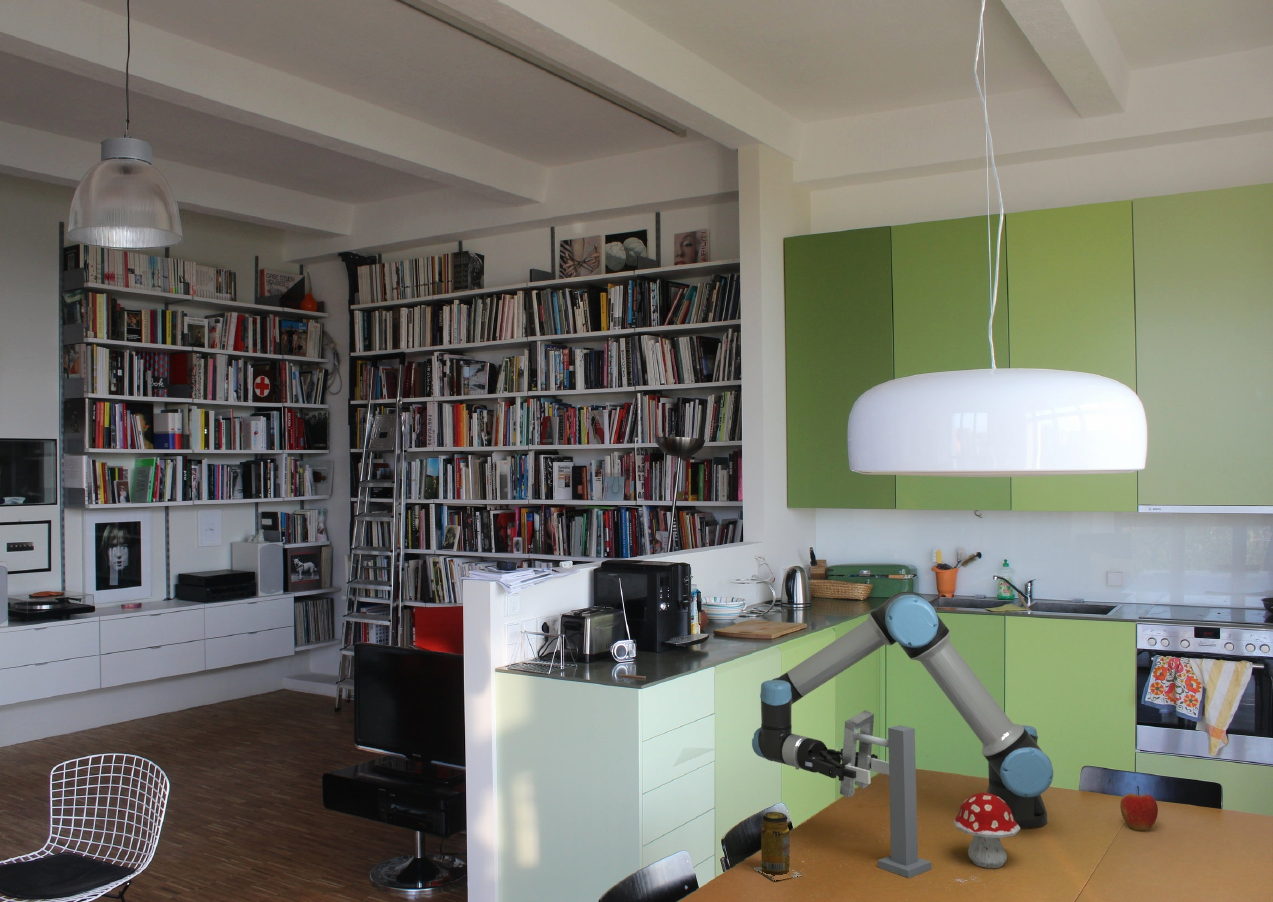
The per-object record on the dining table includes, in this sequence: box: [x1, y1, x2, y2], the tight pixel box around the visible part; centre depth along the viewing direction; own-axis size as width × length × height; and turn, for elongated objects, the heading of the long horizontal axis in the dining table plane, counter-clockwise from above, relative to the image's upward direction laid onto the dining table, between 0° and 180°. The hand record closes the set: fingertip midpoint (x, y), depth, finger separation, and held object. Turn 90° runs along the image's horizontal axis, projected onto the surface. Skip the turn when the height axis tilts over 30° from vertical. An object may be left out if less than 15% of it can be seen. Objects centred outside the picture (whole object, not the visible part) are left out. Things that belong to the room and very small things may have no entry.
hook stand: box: [857, 725, 932, 879], centre depth 219 cm, size 20×8×30 cm, turn 38°
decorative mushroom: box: [953, 792, 1021, 869], centre depth 216 cm, size 14×14×15 cm
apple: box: [1119, 785, 1159, 832], centre depth 237 cm, size 8×8×10 cm
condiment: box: [752, 811, 803, 882], centre depth 212 cm, size 7×8×12 cm
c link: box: [839, 709, 875, 799], centre depth 224 cm, size 8×2×18 cm, turn 133°
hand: (882, 773), depth 219 cm, fingers closed on c link, 8 cm apart
